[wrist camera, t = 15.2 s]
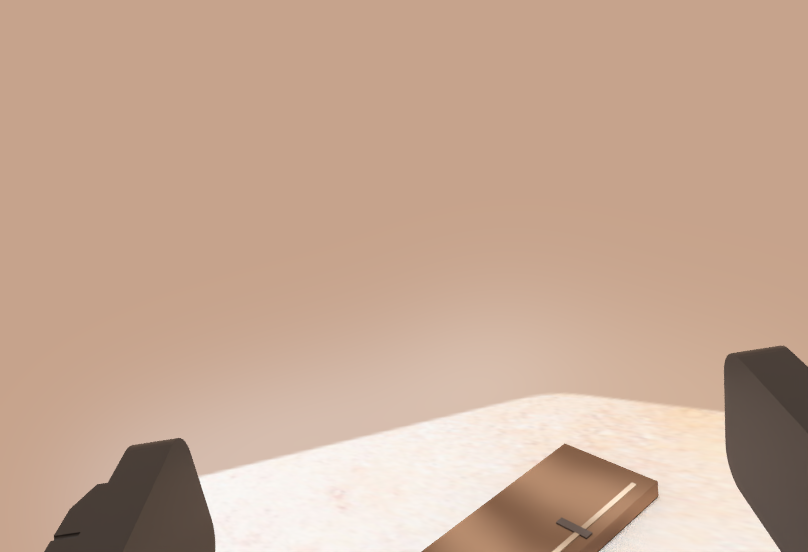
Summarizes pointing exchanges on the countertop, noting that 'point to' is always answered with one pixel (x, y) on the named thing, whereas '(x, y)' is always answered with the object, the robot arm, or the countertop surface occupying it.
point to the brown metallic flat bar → (555, 508)
